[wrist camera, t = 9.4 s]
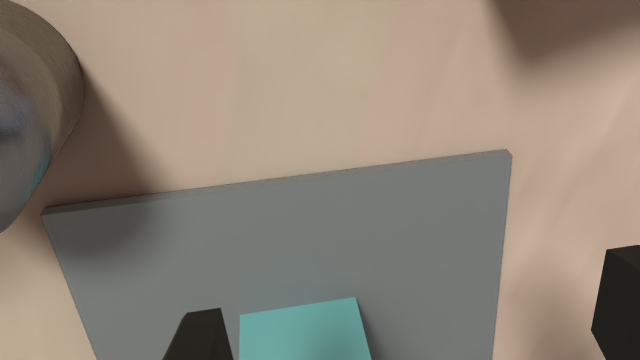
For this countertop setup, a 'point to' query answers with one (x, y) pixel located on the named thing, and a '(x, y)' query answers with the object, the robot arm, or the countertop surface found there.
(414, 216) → the mat
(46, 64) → the metal canister
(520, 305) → the countertop surface
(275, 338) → the teal block
